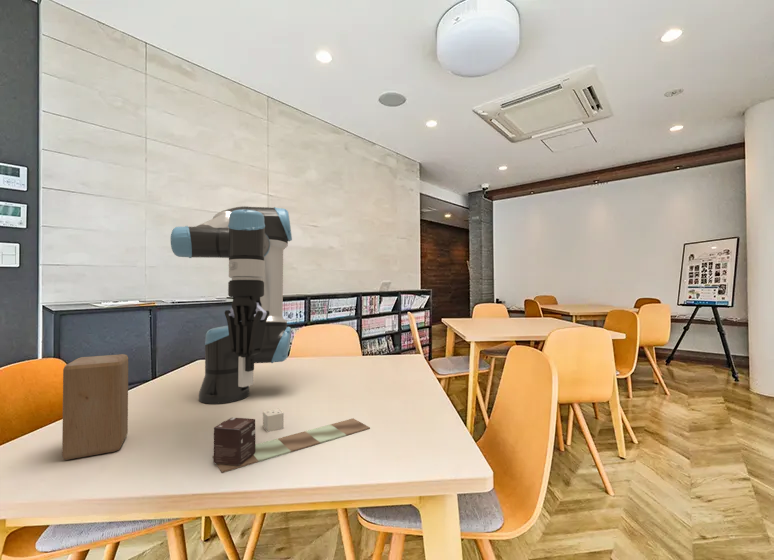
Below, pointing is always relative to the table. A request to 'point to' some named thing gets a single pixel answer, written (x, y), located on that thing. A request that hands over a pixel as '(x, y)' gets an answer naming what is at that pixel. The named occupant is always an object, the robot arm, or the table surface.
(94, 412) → the wooden block
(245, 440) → the box
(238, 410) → the table surface
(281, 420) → the die
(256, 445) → the track
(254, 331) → the robot arm
